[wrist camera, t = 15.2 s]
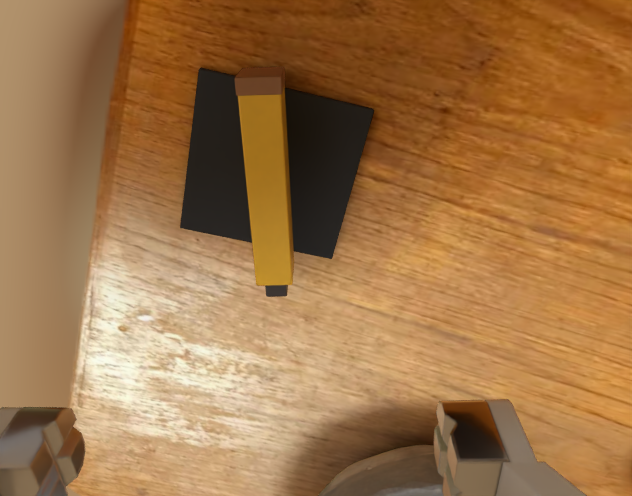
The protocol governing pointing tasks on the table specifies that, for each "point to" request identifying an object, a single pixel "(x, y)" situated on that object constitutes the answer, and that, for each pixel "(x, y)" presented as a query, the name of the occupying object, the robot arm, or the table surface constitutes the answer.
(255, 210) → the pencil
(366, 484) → the bowl
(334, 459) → the table surface
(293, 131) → the mat
